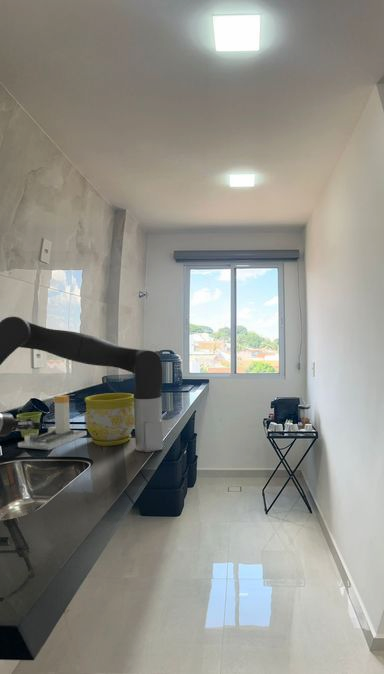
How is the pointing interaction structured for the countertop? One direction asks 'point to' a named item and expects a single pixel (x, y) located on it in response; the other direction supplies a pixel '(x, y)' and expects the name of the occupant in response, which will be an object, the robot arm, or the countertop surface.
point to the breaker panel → (50, 439)
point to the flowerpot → (110, 418)
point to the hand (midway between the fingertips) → (39, 426)
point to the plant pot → (34, 416)
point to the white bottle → (62, 414)
